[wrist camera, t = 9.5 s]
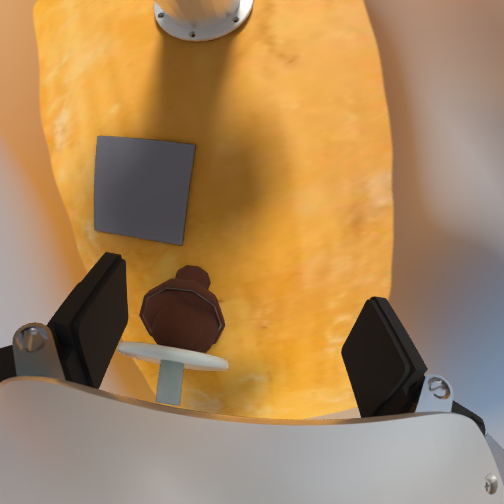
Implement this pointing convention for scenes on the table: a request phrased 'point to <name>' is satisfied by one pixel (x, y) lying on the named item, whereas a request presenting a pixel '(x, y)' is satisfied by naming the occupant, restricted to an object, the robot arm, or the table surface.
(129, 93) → the table surface
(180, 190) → the mat
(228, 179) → the table surface
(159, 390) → the lid
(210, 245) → the table surface
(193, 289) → the ice cream bowl
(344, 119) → the table surface
